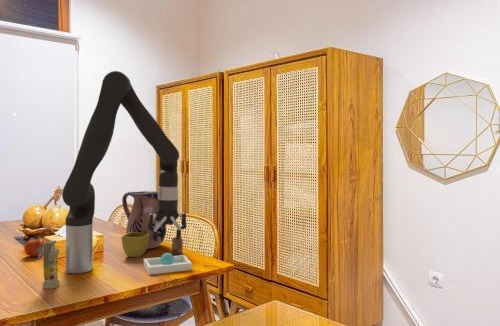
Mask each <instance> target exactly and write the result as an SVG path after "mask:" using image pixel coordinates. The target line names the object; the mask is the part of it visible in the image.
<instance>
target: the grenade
mask: <svg viewBox="0 0 500 326" xmlns="http://www.w3.org/2000/svg"><path fill="white" fill-rule="evenodd" d="M56 243H57V240H47V241H46V242H44V243H43V245H42V246H41V247H39V248H38V249H37V250H36V251H37V252H39V251H40V252H39V254H38V256H37V259H36V260H38V261H40V260H41V259H42V257H43V278H44V281H43V283H42V288H43V289H46V290H51V289H55V288H58V287H59V285H60V280H59V278H58V277H59V276H58V275H59V274H58V271H59V270H58V268H59V267H58V265H59V264H58V256H59V254H60V249H59V248H57V247H56ZM42 247H44V248H42ZM39 249H42V250H39ZM41 251H42V253H41Z"/></svg>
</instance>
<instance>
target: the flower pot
mask: <svg viewBox="0 0 500 326" xmlns="http://www.w3.org/2000/svg"><path fill="white" fill-rule="evenodd" d="M149 234H150V233H140V232H130V233H128V234H126V233H125V234H123V235H122V236H121V245H122V249H123V251H124V254H125V255H126V257H129V258H130V257H131V258H140V257H141V256H144V255H145V253H146V251H147V250H148V249H147V247H148V242H149Z"/></svg>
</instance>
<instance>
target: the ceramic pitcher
mask: <svg viewBox="0 0 500 326" xmlns="http://www.w3.org/2000/svg"><path fill="white" fill-rule="evenodd" d="M128 196H130V197H132V198H133V204H132V207H131V210H130V209H129V207H128V201H127V199H128ZM121 201H122V208H123V210H124V211H123V212H124V213H125V216H126V219H127V222H126V230H125V231H126V233H125V235H126V234H128V233H130V232H140V233H150V234H149V242H148V247H147V249H146V250H150V249H155V248H157V247H159V246H160V245H161V244H163V241H164V240H165V238H166V236H167V235H166V234H167V225H161V226H160V227H159V228H158V230H157V241H154V240H153V238H152V233H153V231H151V230H149V229H148V217H149V214H150V213H151V214H157V211H158V190H157V191H154V190H152V191H150V190H149V191H147V190H146V191H145V190H144V191H127V192H126V193H124V194H123V196H122V200H121ZM157 221H158V219H157V217H155V219H154V220H153V223H152V227H154V226H155V224H156V222H157Z"/></svg>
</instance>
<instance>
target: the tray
mask: <svg viewBox="0 0 500 326" xmlns="http://www.w3.org/2000/svg"><path fill="white" fill-rule="evenodd" d="M161 257H162V256H161ZM161 257H159V256H158V257H150V258H148V257H147V258H143V267H144V268H145V270H146V272H147V275H158V274H165V273H166V274H168V273H174V272H184V271H185V272H186V271H192V270H193V263H192V262H191V260H190V259H189V258H188V257H187V256H186V255H185V254H184V255H179V256H173V257H174V262H173V264H171V265H163V264H162V263H161Z"/></svg>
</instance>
